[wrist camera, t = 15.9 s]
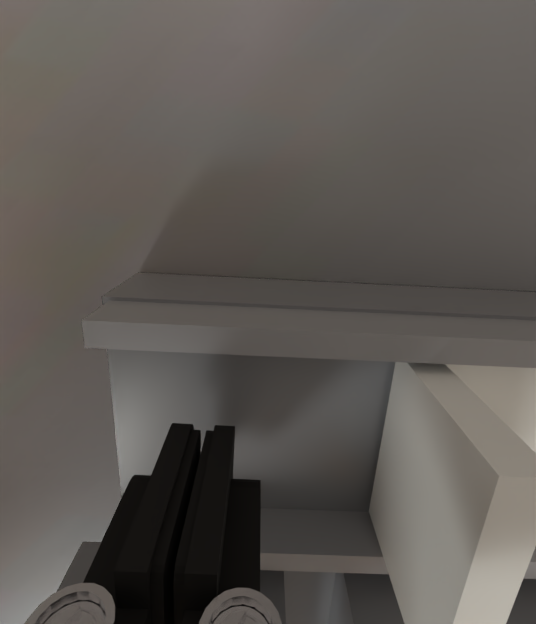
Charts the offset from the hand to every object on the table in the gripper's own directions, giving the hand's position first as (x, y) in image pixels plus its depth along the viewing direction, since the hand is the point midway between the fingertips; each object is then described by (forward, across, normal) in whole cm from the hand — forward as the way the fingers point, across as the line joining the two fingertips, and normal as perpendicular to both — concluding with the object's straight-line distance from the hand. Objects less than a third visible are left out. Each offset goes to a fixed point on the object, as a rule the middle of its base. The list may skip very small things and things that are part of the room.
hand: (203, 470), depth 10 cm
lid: (+1, -9, 0) cm, 9 cm away
